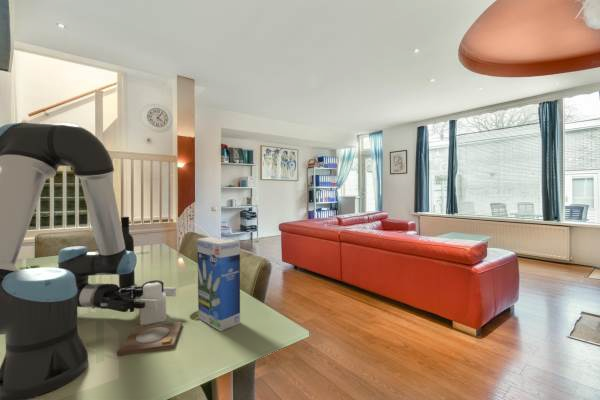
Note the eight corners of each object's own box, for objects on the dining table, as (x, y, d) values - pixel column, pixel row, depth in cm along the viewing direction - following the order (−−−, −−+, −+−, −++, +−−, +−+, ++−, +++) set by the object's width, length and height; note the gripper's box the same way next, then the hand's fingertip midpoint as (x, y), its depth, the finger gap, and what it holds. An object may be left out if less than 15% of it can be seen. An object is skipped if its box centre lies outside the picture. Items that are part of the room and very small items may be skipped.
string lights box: (197, 318, 89) (196, 238, 88) (218, 310, 95) (217, 235, 94) (220, 332, 80) (219, 243, 79) (242, 322, 86) (241, 240, 85)
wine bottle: (134, 282, 125) (132, 216, 124) (135, 286, 120) (133, 217, 119) (119, 285, 121) (117, 217, 120) (119, 288, 117) (117, 217, 116)
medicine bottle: (142, 316, 90) (141, 280, 90) (166, 312, 93) (165, 277, 93) (139, 326, 84) (138, 287, 84) (165, 321, 87) (164, 283, 87)
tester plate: (173, 348, 72) (173, 342, 72) (117, 355, 69) (116, 349, 69) (182, 324, 85) (181, 320, 85) (134, 330, 81) (134, 325, 81)
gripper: (126, 294, 101) (184, 296, 99) (70, 323, 79) (143, 326, 77) (125, 274, 101) (184, 275, 99) (69, 297, 79) (142, 299, 77)
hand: (166, 297), depth 88 cm, fingers closed on medicine bottle, 9 cm apart
